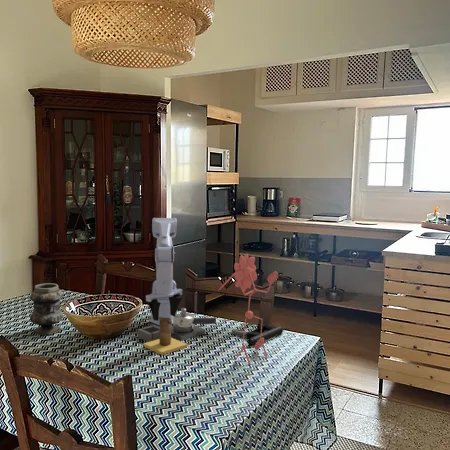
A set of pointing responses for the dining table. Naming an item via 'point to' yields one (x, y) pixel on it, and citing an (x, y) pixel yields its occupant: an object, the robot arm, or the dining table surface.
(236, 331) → the door handle
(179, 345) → the mat
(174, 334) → the chuck stand
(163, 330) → the brown upright block
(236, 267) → the pink stick man
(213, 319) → the lidded saucepan
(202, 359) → the dining table surface
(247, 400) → the dining table surface
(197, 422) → the dining table surface
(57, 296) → the apothecary jar
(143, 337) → the socket
